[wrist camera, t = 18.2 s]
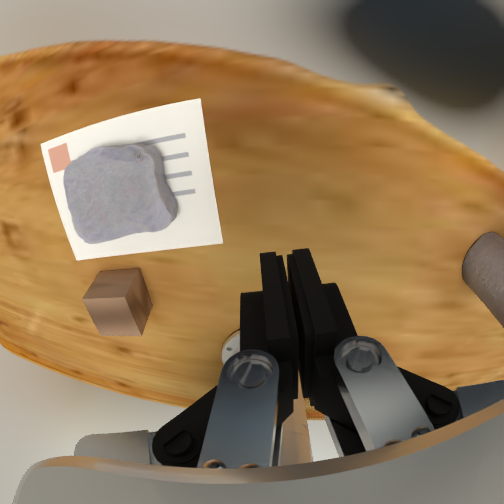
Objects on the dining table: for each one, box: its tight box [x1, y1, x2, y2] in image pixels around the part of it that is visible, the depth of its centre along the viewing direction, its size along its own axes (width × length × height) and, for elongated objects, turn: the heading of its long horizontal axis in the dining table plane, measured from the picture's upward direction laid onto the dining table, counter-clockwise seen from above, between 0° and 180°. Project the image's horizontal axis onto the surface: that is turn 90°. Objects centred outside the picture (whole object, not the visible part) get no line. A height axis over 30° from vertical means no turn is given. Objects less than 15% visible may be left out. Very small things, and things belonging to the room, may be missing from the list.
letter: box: [41, 98, 223, 260], centre depth 30 cm, size 16×20×1 cm
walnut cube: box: [82, 268, 153, 336], centre depth 34 cm, size 6×6×6 cm
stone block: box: [63, 143, 177, 244], centre depth 28 cm, size 12×5×10 cm
